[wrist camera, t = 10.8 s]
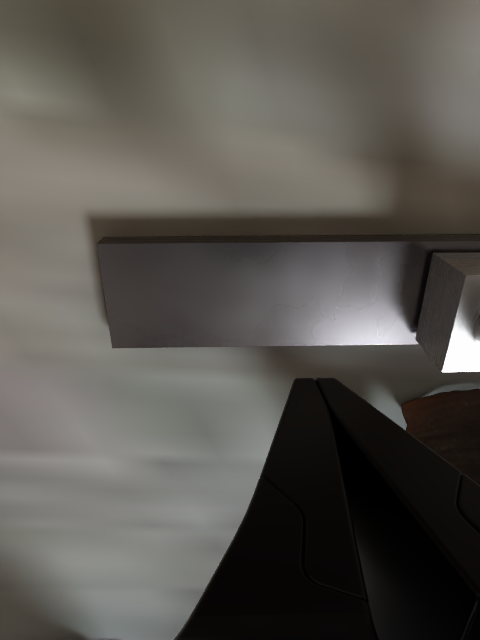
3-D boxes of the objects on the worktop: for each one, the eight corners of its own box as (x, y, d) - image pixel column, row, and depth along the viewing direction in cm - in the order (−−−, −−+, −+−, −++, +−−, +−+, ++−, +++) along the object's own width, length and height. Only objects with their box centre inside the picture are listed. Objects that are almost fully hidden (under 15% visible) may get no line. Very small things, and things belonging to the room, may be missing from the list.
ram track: (507, 332, 15) (520, 342, 15) (117, 336, 15) (112, 348, 14) (537, 233, 14) (555, 240, 13) (103, 236, 13) (96, 243, 13)
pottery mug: (600, 397, 17) (742, 651, 13) (422, 459, 24) (473, 639, 20) (382, 341, 12) (487, 720, 8) (236, 438, 19) (247, 671, 15)
